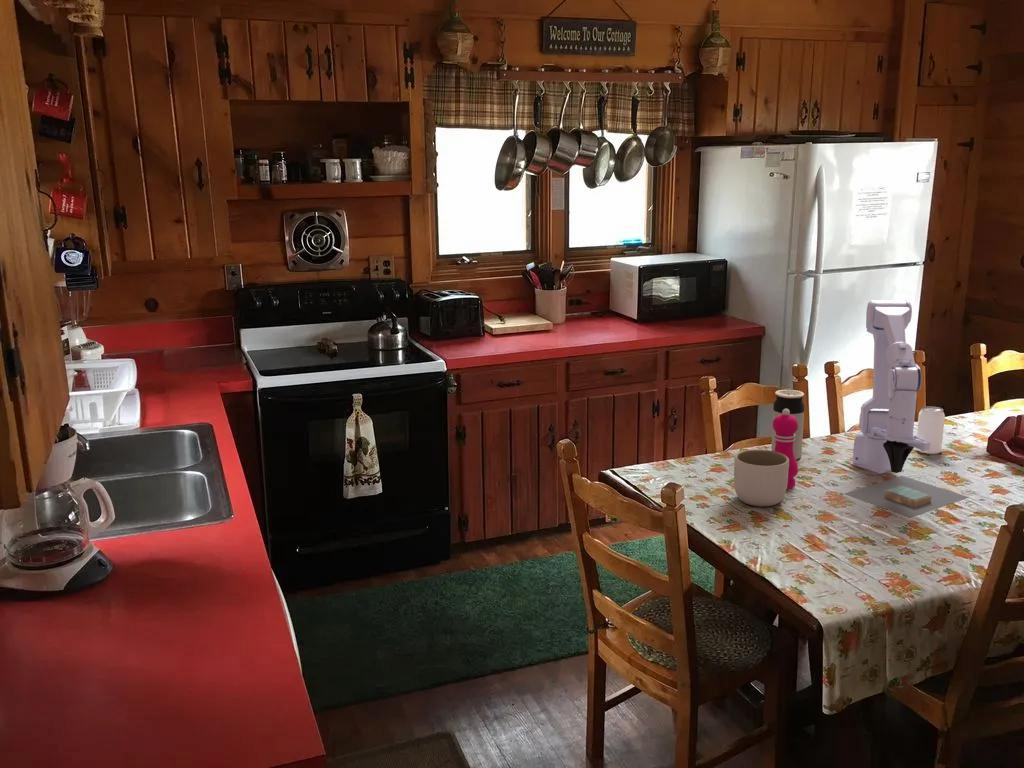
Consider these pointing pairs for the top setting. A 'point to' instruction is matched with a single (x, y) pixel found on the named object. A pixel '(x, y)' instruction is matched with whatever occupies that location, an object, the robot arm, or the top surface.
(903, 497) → the brown framed teal panel
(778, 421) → the pepper mill
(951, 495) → the rubber mat
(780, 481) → the planter
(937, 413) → the can
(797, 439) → the travel mug
